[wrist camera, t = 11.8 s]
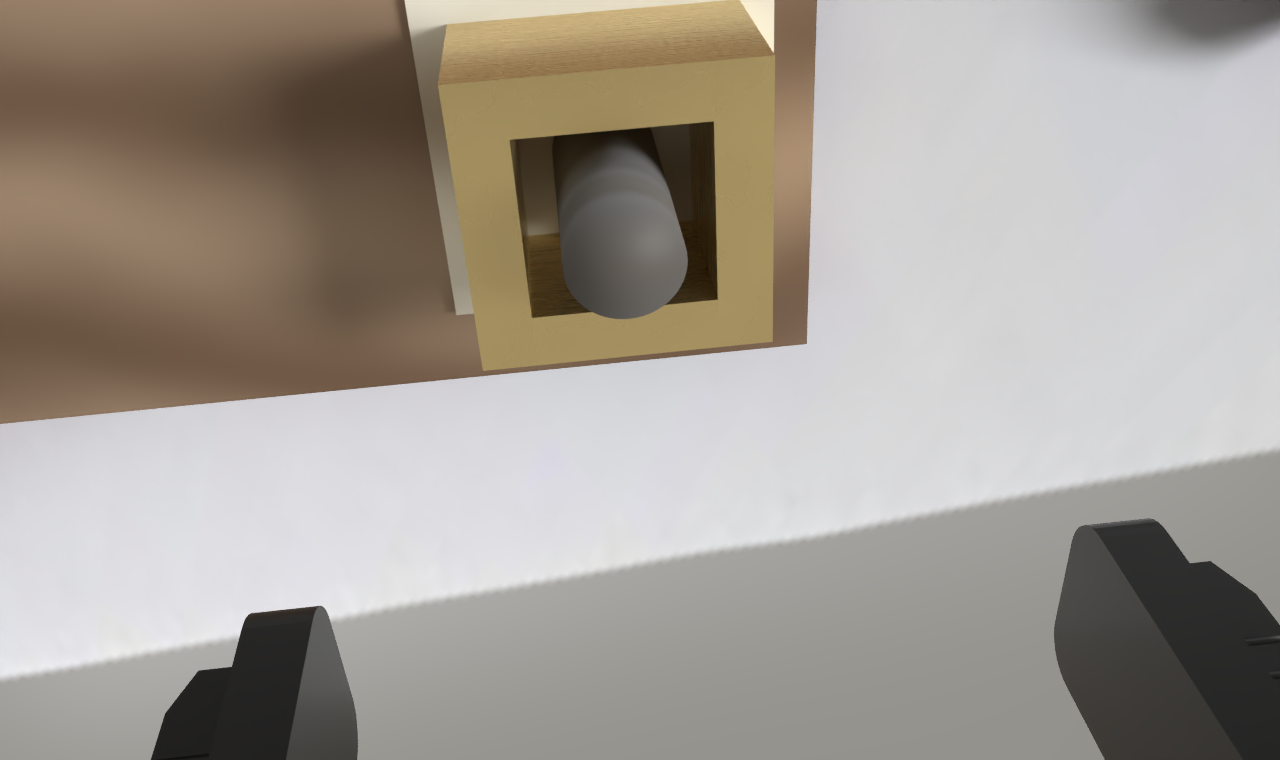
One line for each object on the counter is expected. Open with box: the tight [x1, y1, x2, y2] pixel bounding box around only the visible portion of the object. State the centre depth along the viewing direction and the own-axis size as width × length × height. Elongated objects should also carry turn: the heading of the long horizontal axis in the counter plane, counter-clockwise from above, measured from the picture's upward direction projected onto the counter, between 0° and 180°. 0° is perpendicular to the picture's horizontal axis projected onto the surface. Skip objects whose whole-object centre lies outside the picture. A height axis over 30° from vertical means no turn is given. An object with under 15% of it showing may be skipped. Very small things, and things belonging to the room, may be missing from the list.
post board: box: [0, 0, 817, 424], centre depth 24 cm, size 16×22×8 cm
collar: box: [438, 0, 775, 371], centre depth 25 cm, size 6×6×4 cm
